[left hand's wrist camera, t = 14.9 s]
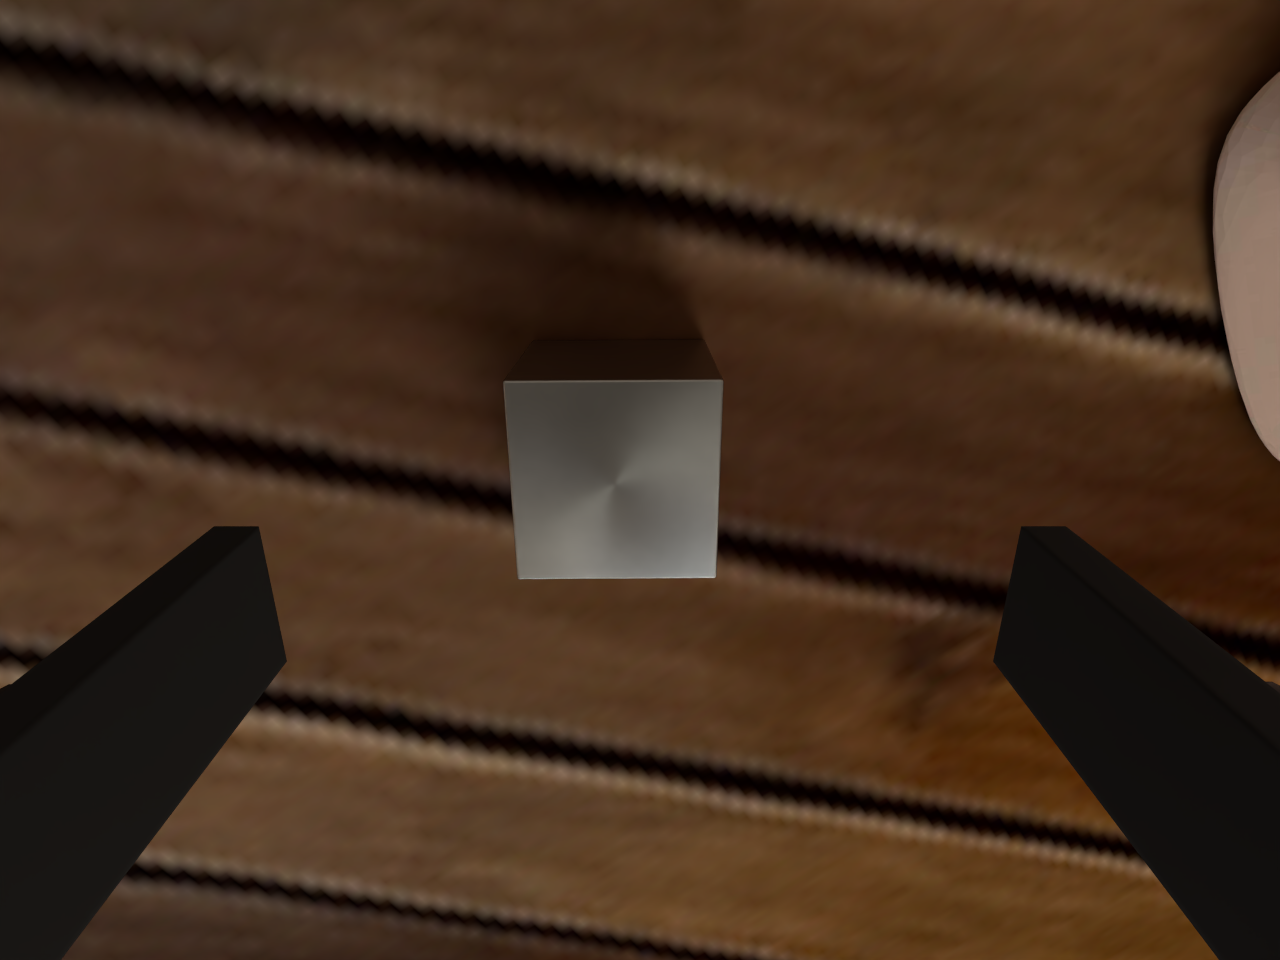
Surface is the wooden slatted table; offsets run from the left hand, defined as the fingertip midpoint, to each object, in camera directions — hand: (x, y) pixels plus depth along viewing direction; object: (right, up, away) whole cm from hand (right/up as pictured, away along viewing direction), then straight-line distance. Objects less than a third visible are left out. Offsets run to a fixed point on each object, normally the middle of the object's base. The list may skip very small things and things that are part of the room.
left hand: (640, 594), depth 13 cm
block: (0, +4, +7) cm, 8 cm away
